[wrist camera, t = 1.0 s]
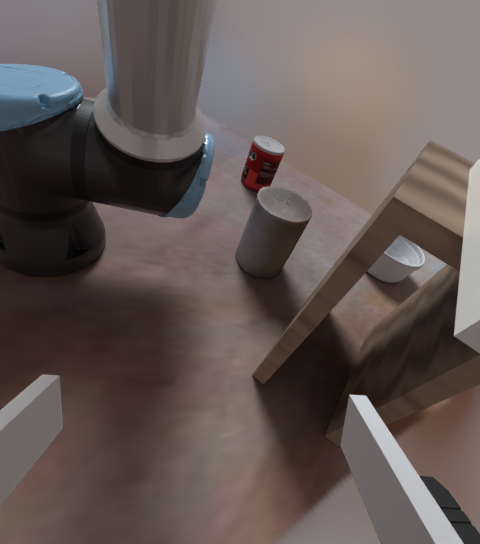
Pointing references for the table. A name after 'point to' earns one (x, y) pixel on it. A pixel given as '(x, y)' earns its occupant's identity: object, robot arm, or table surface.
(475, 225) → the bar
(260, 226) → the pillar candle
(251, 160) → the canned food
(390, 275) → the ramekin
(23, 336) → the table surface
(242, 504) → the table surface
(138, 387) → the table surface
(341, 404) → the stand
